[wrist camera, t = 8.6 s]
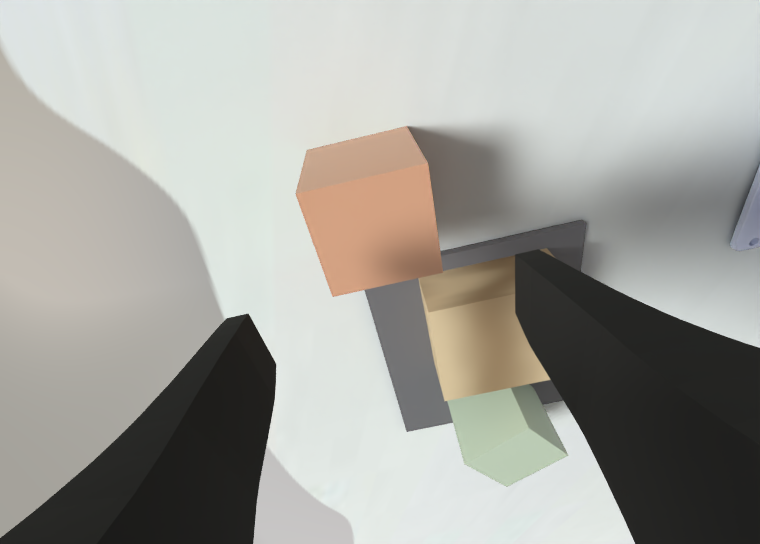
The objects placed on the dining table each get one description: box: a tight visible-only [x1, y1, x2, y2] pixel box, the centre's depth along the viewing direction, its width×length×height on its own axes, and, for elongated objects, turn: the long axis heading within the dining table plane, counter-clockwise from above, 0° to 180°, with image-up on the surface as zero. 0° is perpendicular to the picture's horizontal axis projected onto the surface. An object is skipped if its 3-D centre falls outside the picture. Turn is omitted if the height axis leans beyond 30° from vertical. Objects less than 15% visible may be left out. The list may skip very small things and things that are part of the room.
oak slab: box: [418, 248, 555, 401], centre depth 21 cm, size 7×7×3 cm
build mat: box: [365, 220, 586, 432], centre depth 24 cm, size 12×15×1 cm
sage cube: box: [447, 384, 568, 487], centre depth 25 cm, size 4×4×5 cm
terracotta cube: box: [296, 126, 443, 297], centre depth 16 cm, size 4×4×5 cm
